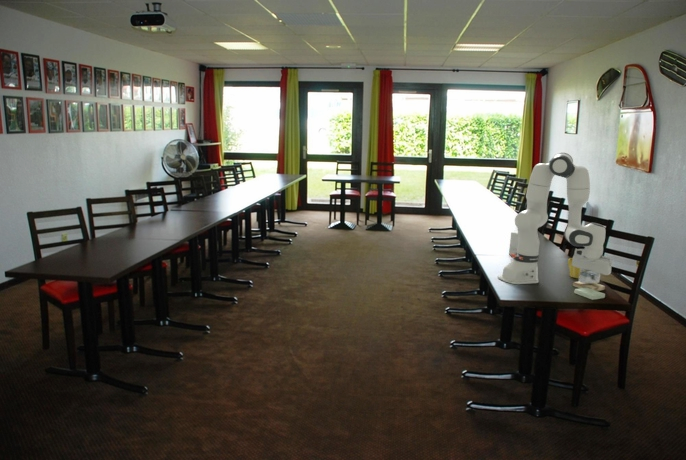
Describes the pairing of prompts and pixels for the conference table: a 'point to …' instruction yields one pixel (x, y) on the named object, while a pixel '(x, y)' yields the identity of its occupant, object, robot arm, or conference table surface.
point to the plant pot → (573, 269)
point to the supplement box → (513, 242)
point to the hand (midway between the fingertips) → (589, 278)
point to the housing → (588, 277)
